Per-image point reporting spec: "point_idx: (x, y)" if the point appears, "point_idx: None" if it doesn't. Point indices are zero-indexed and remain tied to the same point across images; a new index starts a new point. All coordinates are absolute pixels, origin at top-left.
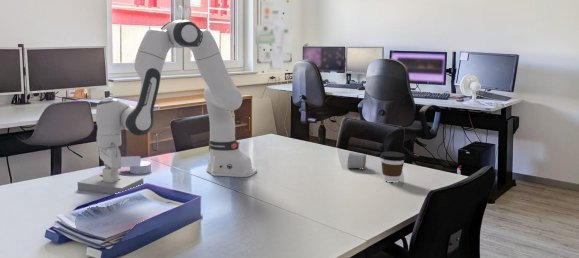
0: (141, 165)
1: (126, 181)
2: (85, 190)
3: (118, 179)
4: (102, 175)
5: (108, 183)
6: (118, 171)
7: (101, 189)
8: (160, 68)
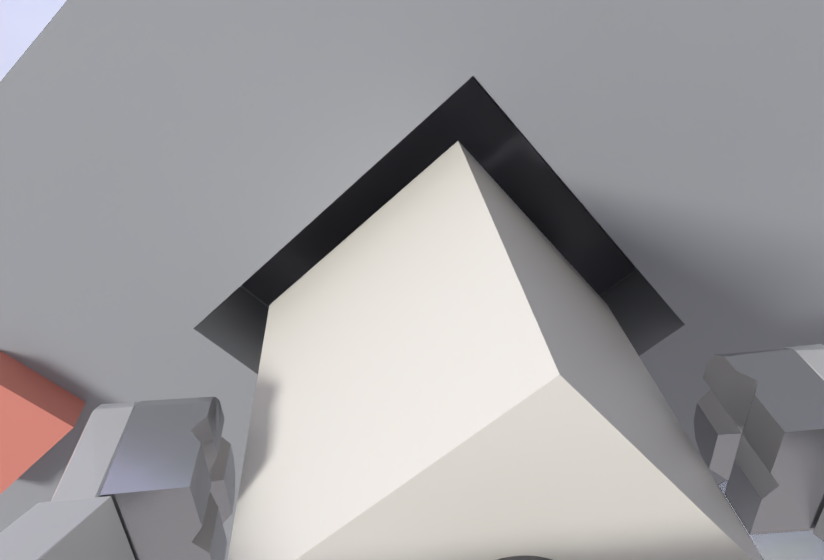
0: None
1: (789, 6)
2: None
3: (472, 166)
4: (42, 452)
5: (664, 394)
6: (520, 272)
7: None
8: None
